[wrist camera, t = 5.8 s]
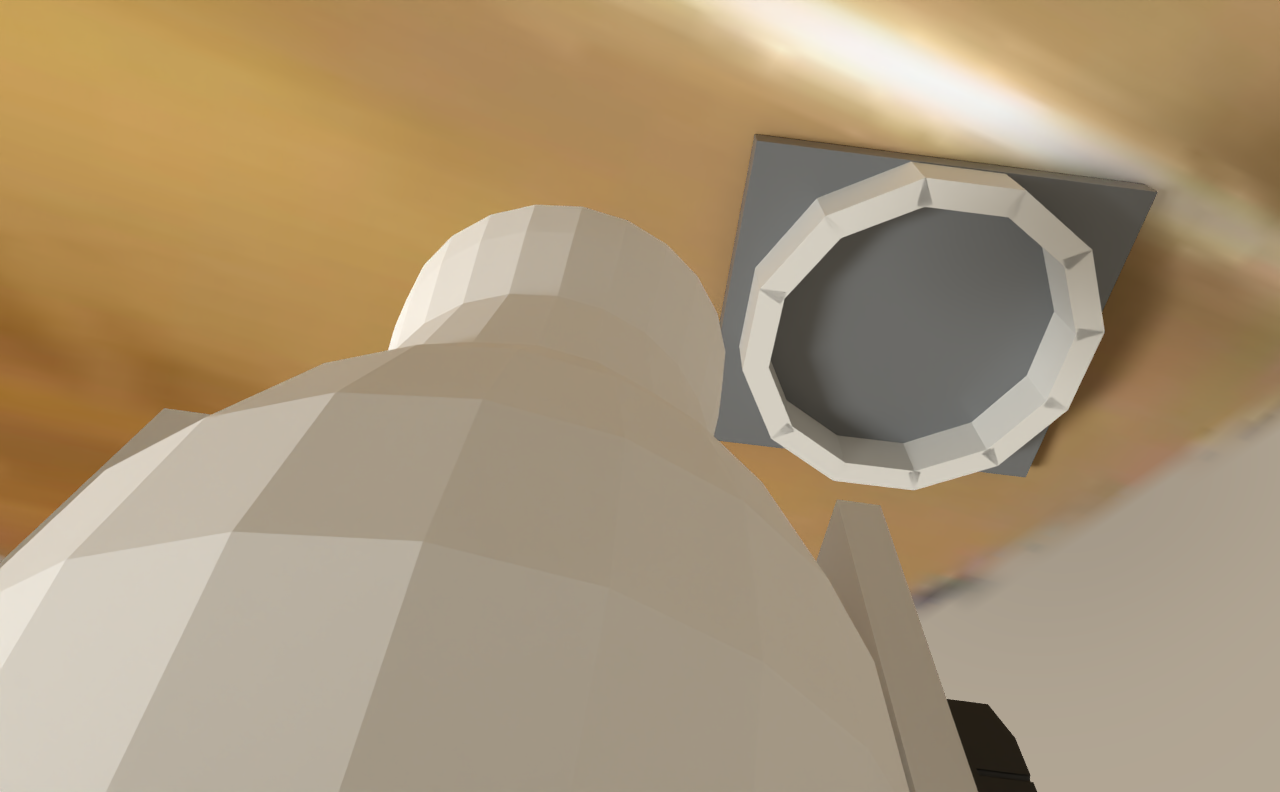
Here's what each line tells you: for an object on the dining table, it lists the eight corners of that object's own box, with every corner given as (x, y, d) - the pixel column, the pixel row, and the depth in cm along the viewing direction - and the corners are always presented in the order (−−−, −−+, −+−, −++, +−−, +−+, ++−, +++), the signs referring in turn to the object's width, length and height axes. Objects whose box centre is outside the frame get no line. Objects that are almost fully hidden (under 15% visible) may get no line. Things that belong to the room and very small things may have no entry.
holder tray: (754, 134, 36) (761, 155, 33) (1144, 184, 36) (1188, 209, 33) (700, 426, 44) (702, 465, 41) (1017, 464, 45) (1043, 506, 42)
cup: (882, 338, 18) (1352, 1304, 6) (602, 589, 23) (502, 1448, 10) (504, 18, 15) (-433, 523, 2) (266, 381, 20) (-508, 1240, 7)
